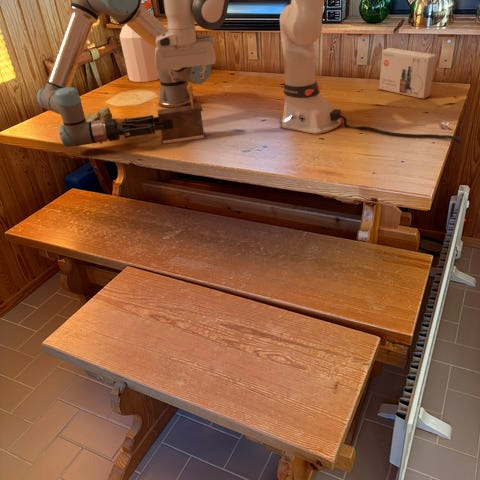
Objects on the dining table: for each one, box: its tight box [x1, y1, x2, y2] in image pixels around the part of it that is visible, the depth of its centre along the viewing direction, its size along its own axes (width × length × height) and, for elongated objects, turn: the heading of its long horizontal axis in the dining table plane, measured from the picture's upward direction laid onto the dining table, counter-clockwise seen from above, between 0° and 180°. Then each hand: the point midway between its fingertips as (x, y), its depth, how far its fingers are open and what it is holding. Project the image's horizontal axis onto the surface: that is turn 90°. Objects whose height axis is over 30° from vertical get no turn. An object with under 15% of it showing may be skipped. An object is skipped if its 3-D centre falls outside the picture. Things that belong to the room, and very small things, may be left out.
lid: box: [157, 84, 203, 117], centre depth 161 cm, size 16×5×8 cm, turn 99°
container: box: [119, 24, 160, 83], centre depth 235 cm, size 21×21×28 cm
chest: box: [159, 111, 205, 144], centre depth 166 cm, size 15×5×10 cm, turn 99°
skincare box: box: [378, 47, 437, 100], centre depth 184 cm, size 21×6×16 cm, turn 40°
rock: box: [85, 105, 113, 122], centre depth 189 cm, size 11×6×10 cm
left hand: (172, 121), depth 164 cm, fingers closed on chest, 5 cm apart
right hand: (188, 80), depth 157 cm, fingers open, 8 cm apart
